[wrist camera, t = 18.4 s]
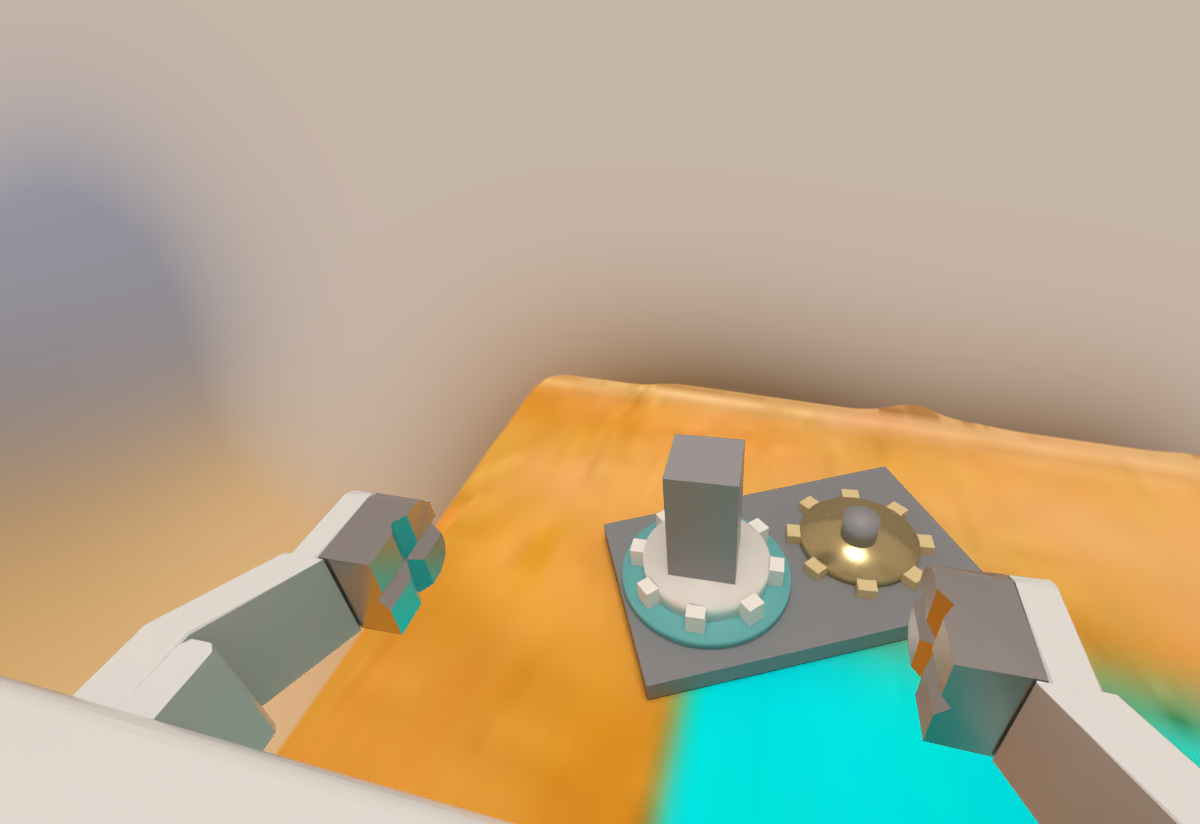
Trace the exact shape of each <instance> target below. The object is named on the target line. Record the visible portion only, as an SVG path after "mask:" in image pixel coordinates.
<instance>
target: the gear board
mask: <svg viewBox="0 0 1200 824" xmlns="http://www.w3.org/2000/svg"><path fill="white" fill-rule="evenodd" d="M756 518H758V519H760V520H761V521H762V522H763V523H764V524H765V525H767V526H768V527H769V536H768V543H766V545H767V547H768V550H769V554H770V556H772V557H779V558H784V577H783V586H782V587H779V586H772V585H768V586H767V589H766V591H765V593H764V595H763V597H762V598H761V599H762V600H763V601H764V602H765V605H764V617H763V618H762V619H760V620H759V621H757V622H755V623H754V624H752V625H751V626H748V625H747V624H746V623H745V622H744V621H743V620H742V619H741V618H740V617H739V616H737V617H735V618H732V619H728V620H724V621H715V622H706V627H705V634H701V633H695V632H689V631H685V617H682V616H679V615H677V614H675V613H673V612H671V611H670V610H668V609H667V608H665V607H664V606H663V605H662V604H660V603H659V604H658V605H656V606H654V607H652V608H651V609H649V610H648V609H647V608H646V606H645V605H644V604H643V603H642V601H641V600H640V599H639V598H638V588H637V583H638V582H640V581H641V580H643V579H645V575H644V567H642V566H635V565H631V557H630V549H631V545H632V542H633V539H634V538H636V539H644V540H647V538H648V536H649V535H650V533H651V532H652V531H653V530H654V529H655V528H656V527H657V525H656V514H652V515H647V516H643V517H638V518H633V519H628V520H623V521H618V522H614V523H609V524H604V529H605V536H606V541H607V545H608V548H609V552H610V556H611V560H612V564H613V568H614V572H615V575H616V579H617V583H618V587H619V591H620V595H621V598H622V602H623V606H624V610H625V614H626V618H627V622H628V625H629V629H630V633H631V637H632V641H633V645H634V648H635V652H636V656H637V660H638V664H639V668H640V672H641V675H642V679H643V683H644V687H645V691H646V695H647V698H648V700H650V699H654V698H658V697H663V696H667V695H671V694H675V693H680V692H684V691H688V690H692V689H697V688H701V687H705V686H709V685H714V684H718V683H722V682H726V681H731V680H735V679H739V678H743V677H748V676H752V675H756V674H760V673H765V672H769V671H773V670H777V669H782V668H786V667H790V666H794V665H799V664H803V663H807V662H811V661H816V660H820V659H824V658H828V657H832V656H837V655H841V654H845V653H849V652H854V651H858V650H862V649H866V648H871V647H875V646H879V645H883V644H888V643H892V642H896V641H900V640H905V639H908V627H909V617H910V613H911V609H912V605H913V602H914V601H916V600H918V599H920V598H921V597H922V593H921V588H920V579H921V576H922V573H923V570H924V569H925V568H926V567H927V565H931V566H939V567H948V568H956V569H964V570H973V571H981V570H980V568H979V567H978V566H977V565H976V564H975V563H974V562H973V561H972V560H971V559H970V558H969V557H968V556H967V554H966V553H965V552H964V551H963V550H962V549H961V548H960V547H959V546H958V545H957V544H956V543H955V541H954V540H953V539H952V538H951V537H950V536H949V535H948V534H947V533H946V532H945V531H944V530H943V529H942V527H941V526H940V525H939V524H938V523H937V522H936V521H935V520H934V519H933V518H932V517H931V516H930V514H929V513H928V512H927V511H926V510H925V509H924V508H923V507H922V506H921V505H920V504H919V503H918V502H917V500H916V499H915V498H914V497H913V496H912V495H911V494H910V493H909V492H908V491H907V490H906V489H905V488H904V486H903V485H902V484H901V483H900V482H899V481H898V480H897V479H896V478H895V477H894V476H893V475H892V473H891V472H890V471H889V470H888V469H887V468H886V467H880V468H875V469H870V470H865V471H861V472H856V473H851V474H846V475H841V476H836V477H831V478H827V479H822V480H817V481H812V482H807V483H802V484H798V485H793V486H788V487H783V488H778V489H773V490H769V491H764V492H759V493H754V494H749V495H744V496H742V516H741V520H743V521H745V522H746V523H749V522H751V521H753V520H754V519H756ZM981 572H982V571H981Z"/></svg>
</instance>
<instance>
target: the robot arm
mask: <svg viewBox="0 0 1200 824" xmlns="http://www.w3.org/2000/svg"><path fill="white" fill-rule="evenodd" d="M434 517H435V514H434V511H433V509H432V507H431V504H430V502H426V501H423V500H418V499H411V498H405V497H399V496H392V495H386V494H380V493H371V492H365V491H358V490H353V491H351V492H349V493H347V494H345V495H344V496H343V497H342V498H341V499H340V500H339V502H338V503H337V504H336V505H335V506H334V507H333V508H332V509H331V510H330V512H329V513H328V514H327V515H326V516H325V517H324V518H323V519H322V521H321V522H320V523H319V524H318V525H317V526H316V527H315V528H314V529H313V530H312V532H311V533H310V534H309V535H308V536H307V537H306V538H305V539H304V541H303V542H302V543H301V544H300V545H299V546H298V547H297V548H296V549H295V550H294V552H293V553H292V554H290V553H283V554H281V555H279V556H277V557H275V558H274V559H272V560H270V561H268V562H266V563H264V564H262V565H260V566H258V567H256V568H254V569H252V570H250V571H248V572H246V573H245V574H243V575H241V576H239V577H237V578H235V579H233V580H231V581H229V582H227V583H225V584H223V585H221V586H219V587H217V588H216V589H214V590H212V591H210V592H208V593H206V594H204V595H202V596H200V597H198V598H196V599H194V600H192V601H190V602H188V603H187V604H185V605H183V606H181V607H179V608H177V609H175V610H173V611H171V612H169V613H167V614H165V615H163V616H162V617H159V618H158V619H156V620H154V621H152V622H150V623H148V624H146V625H144V626H143V627H142V628H141V629H140V631H138V632H137V633H136V634H135V635H134V636H133V637H132V638H131V639H130V640H129V641H128V642H127V643H126V644H125V645H124V646H123V647H122V648H121V649H120V650H119V651H118V652H117V653H116V654H115V655H114V656H113V657H112V658H111V659H110V660H109V661H108V662H107V663H106V664H105V665H104V666H103V667H101V668H100V669H99V670H98V671H97V672H96V673H95V674H94V675H93V677H91V678H90V679H89V680H88V681H87V682H86V683H85V684H84V685H83V686H82V687H81V688H80V689H79V690H78V691H77V692H76V693H75V694H74V695H73V696H70V695H67V694H63V693H60V692H56V691H53V690H49V689H46V688H42V687H39V686H35V685H32V684H28V683H25V682H21V681H17V680H14V679H11V678H7V677H4V676H0V824H515V823H511V822H508V821H504V820H501V819H497V818H494V817H490V816H487V815H483V814H480V813H476V812H473V811H470V810H466V809H463V808H459V807H456V806H452V805H449V804H445V803H442V802H438V801H435V800H431V799H428V798H424V797H421V796H418V795H414V794H411V793H407V792H404V791H400V790H397V789H393V788H390V787H386V786H383V785H379V784H376V783H372V782H369V781H365V780H362V779H358V778H355V777H352V776H348V775H345V774H341V773H338V772H334V771H331V770H327V769H324V768H320V767H317V766H313V765H310V764H306V763H303V762H299V761H296V760H292V759H289V758H286V757H282V756H279V755H275V754H272V753H268V752H264V751H263V750H264V748H265V747H266V745H267V744H268V743H269V741H270V740H271V738H272V737H273V735H274V734H275V732H276V731H275V723H274V722H273V720H272V719H271V718H270V717H269V716H268V714H267V713H266V712H265V710H264V709H263V708H262V706H263V705H264V704H265V703H267V702H268V701H269V700H271V699H272V698H273V697H274V696H276V695H277V694H278V693H280V692H281V691H282V690H283V689H285V688H286V687H288V686H289V685H290V684H291V683H293V682H294V681H295V680H297V679H298V678H299V677H301V676H302V675H303V674H304V673H305V672H307V671H308V670H310V669H311V668H312V667H313V666H315V665H316V664H317V663H319V662H320V661H321V660H323V659H324V658H325V657H326V656H328V655H329V654H331V653H332V652H333V651H334V650H336V649H337V648H338V647H340V646H341V645H342V644H343V643H345V642H346V641H347V640H349V639H350V638H351V637H353V636H354V635H355V634H357V633H358V632H359V631H360V630H361V629H360V628H366V629H372V630H378V631H384V632H390V633H395V634H401V635H402V634H403V632H404V631H405V629H406V628H407V626H408V624H409V623H410V621H411V619H412V618H413V616H414V615H415V613H416V611H417V610H418V608H419V606H420V605H421V596H420V592H421V591H422V590H424V589H426V588H427V587H429V586H430V585H432V584H433V583H434V582H435V580H436V578H437V577H438V575H439V573H440V572H441V569H442V566H443V562H444V558H445V542H444V539H443V536H442V533H441V532H440V531H439V530H438V529H437V528H436V527H434V526H433V525H432V524H431V522H432V521H433V519H434ZM920 588H921V593H922V597H921V598H920V599H918V600H916V601H914V602H913V605H912V609H911V613H910V617H909V627H908V647H909V656H910V663H911V667H912V668H913V669H914V670H915V671H916V672H917V674H918V675H919V676H920V677H921V681H920V683H919V686H918V689H917V692H916V701H917V707H918V713H919V719H920V725H921V731H922V737H923V741H926V742H930V743H935V744H939V745H943V746H948V747H952V748H957V749H961V750H965V751H970V752H974V753H978V754H983V755H987V756H992V757H994V758H993V762H994V763H995V764H996V766H997V767H998V768H999V770H1000V771H1001V772H1002V774H1003V775H1004V777H1005V778H1006V779H1007V781H1008V782H1009V783H1010V785H1011V786H1012V787H1013V789H1014V790H1015V792H1016V793H1017V794H1018V796H1019V797H1020V798H1021V800H1022V801H1023V802H1024V804H1025V805H1026V807H1027V808H1028V809H1029V811H1030V812H1031V813H1032V815H1033V816H1034V817H1035V819H1036V820H1037V822H1038V823H1039V824H1200V768H1199V767H1198V766H1196V765H1195V764H1194V763H1193V762H1192V761H1191V760H1190V759H1189V758H1187V757H1186V756H1185V755H1184V754H1183V753H1182V752H1181V751H1180V750H1178V749H1177V748H1176V747H1175V746H1174V745H1173V744H1172V743H1171V742H1169V741H1168V740H1167V739H1166V738H1165V737H1164V736H1163V735H1162V734H1160V733H1159V732H1158V731H1157V730H1156V729H1155V728H1154V727H1153V726H1151V725H1150V724H1149V723H1148V722H1147V721H1146V720H1145V719H1144V718H1142V717H1141V716H1140V715H1139V714H1138V713H1137V712H1136V711H1135V710H1133V709H1132V708H1131V707H1130V706H1129V705H1128V704H1127V703H1126V702H1124V701H1123V700H1122V699H1121V698H1120V697H1119V696H1118V695H1115V694H1110V693H1105V692H1102V689H1101V687H1100V685H1099V682H1098V680H1097V678H1096V675H1095V673H1094V671H1093V668H1092V666H1091V664H1090V661H1089V659H1088V657H1087V654H1086V652H1085V650H1084V647H1083V645H1082V643H1081V640H1080V638H1079V636H1078V633H1077V631H1076V629H1075V626H1074V624H1073V622H1072V619H1071V617H1070V615H1069V612H1068V610H1067V608H1066V605H1065V603H1064V601H1063V598H1062V596H1061V594H1060V591H1059V589H1058V587H1057V586H1056V585H1055V584H1054V583H1053V582H1052V581H1051V580H1044V579H1036V578H1028V577H1020V576H1012V575H1007V576H1006V575H1004V574H998V573H989V572H981V571H973V570H964V569H956V568H948V567H939V566H931V565H927V567H926V568H925V569H924V570H923V573H922V576H921V579H920Z"/></svg>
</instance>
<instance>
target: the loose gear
mask: <svg viewBox="0 0 1200 824" xmlns="http://www.w3.org/2000/svg"><path fill="white" fill-rule="evenodd" d="M744 450H745V440H742V439H729V438H717V437H705V436H693V435H680V434H675V436H674V440H673V444H672V447H671V451H670V454H669V458H668V461H667V465H666V469H665V472H664V476H663V494H664V510H663V511H661V512H659V513H657V514H656V525H657V527H656V528H655V529H654V530H653V531H652V532H651V533H650V535H649V536H648V538H647V540H644V539H636V538H634V539H633V542H632V545H631V549H630V557H631V565H635V566H642V567H644V575H645V579H643V580H641V581H640V582H638V583H637V588H638V598H639V599H640V600H641V601H642V603H643V604H644V605H645V606H646V608H647V609H648V610H649V609H651V608H652V607H654V606H656V605H658V604H659V603H660V604H662V605H663V606H664V607H665V608H667V609H668V610H670V611H671V612H673V613H675V614H677V615H679V616H682V617H685V631H689V632H695V633H701V634H705V627H706V622H715V621H724V620H728V619H732V618H735V617H737V616H739V617H740V618H741V619H742V620H743V621H744V622H745V623H746V624H747V625H748V626H751V625H752V624H754V623H755V622H757V621H759V620H760V619H762V618H763V617H764V605H765V602H764V601H763V600H762V599H761V598H762V597H763V595H764V593H765V591H766V589H767V586H768V585H772V586H779V587H782V586H783V577H784V558H779V557H772V556H770V554H769V550H768V547H767V545H766V543H768V536H769V527H768V526H767V525H765V524H764V523H763V522H762V521H761V520H760V519H758V518H756V519H754V520H753V521H751V522H749V523H746V522H745V521H743V520H741V516H742V494H743V472H744Z"/></svg>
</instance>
